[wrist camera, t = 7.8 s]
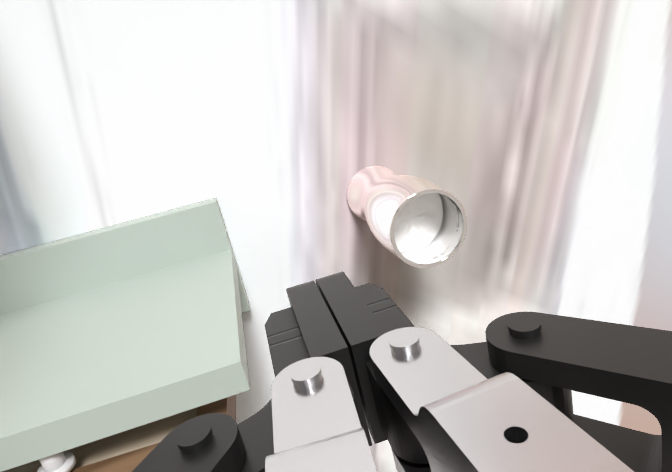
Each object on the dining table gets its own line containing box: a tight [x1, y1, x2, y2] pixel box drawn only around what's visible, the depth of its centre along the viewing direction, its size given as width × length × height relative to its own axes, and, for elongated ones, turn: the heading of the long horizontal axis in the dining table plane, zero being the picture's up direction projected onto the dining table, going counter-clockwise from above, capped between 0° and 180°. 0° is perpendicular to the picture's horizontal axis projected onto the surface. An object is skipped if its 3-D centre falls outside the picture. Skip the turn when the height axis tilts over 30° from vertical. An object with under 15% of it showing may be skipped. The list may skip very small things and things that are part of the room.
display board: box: [0, 198, 250, 472], centre depth 39 cm, size 12×24×24 cm, turn 103°
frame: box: [2, 395, 236, 472], centre depth 34 cm, size 2×20×14 cm, turn 103°
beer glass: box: [347, 165, 467, 268], centre depth 46 cm, size 7×7×15 cm
